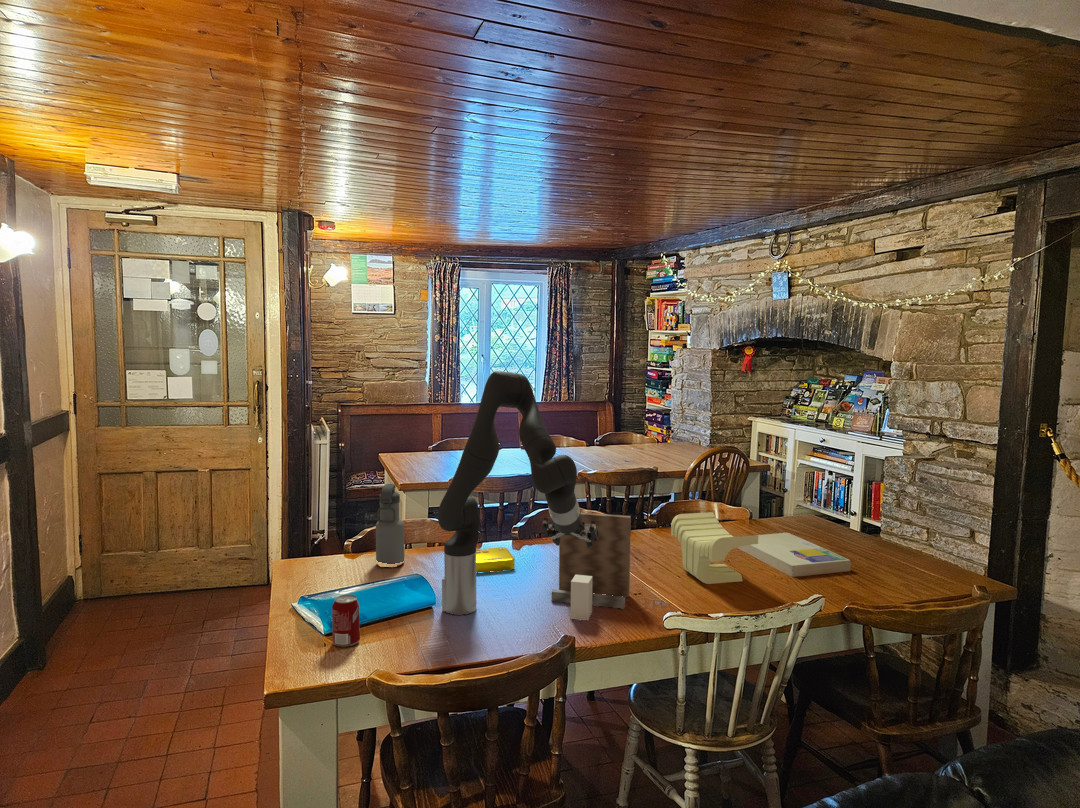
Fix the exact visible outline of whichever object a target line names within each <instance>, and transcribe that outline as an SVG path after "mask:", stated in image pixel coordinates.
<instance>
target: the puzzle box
mask: <svg viewBox="0 0 1080 808" xmlns="http://www.w3.org/2000/svg"><path fill="white" fill-rule="evenodd" d="M754 535H755V534H754ZM754 535H753V534H752V536H754ZM757 535H758V544H752V545H745V546H740V547H737V548H736V549H739V550H740V551H742V552H743V553H745V554H748V555H750V556H752V557H754V558H755V559H758V560H759V561H761V562H763V563H765V564H767V565H769V566H770V567H772V568H774V569H776V570H778V571H780V572H782V573H784V574H786V575H788V576H790V577H791V578H794V577H795V578H796V577H803V576H804V577H805V576H806V577H807V576H813V575H815V576H816V575H823V574H825V575H826V574H835V573H843V572H851V568H852V567H851V566H852V565H851V564H852V563H851V560H850V559H849V558H846V557H844V556H842V555H840V554H837V553H836V552H834V551H831V550H829V549H826V548H825V547H822V546H820V545H818V544H815V543H813V542H811V541H808V540H806V539H804V538H802V537H800V536H796V535H794V534H792V533H789V532H778V533H765V534H757Z"/></svg>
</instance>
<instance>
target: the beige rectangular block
mask: <svg viewBox="0 0 1080 808" xmlns="http://www.w3.org/2000/svg"><path fill="white" fill-rule="evenodd" d="M591 613H592V614H593V606H592V576H586V575H575V576H574V578H573V579H572V581H571V603H570V620H572V619H581V620H588V619H589V620H590V618H591V616H590V615H592V614H591ZM589 617H590V618H589ZM581 620H580V621H581ZM589 620H588V621H589Z"/></svg>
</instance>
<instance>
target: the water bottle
mask: <svg viewBox="0 0 1080 808" xmlns="http://www.w3.org/2000/svg"><path fill="white" fill-rule="evenodd" d="M395 490H396V484H395V483H386V484H385V485H384V486H383V487H382V489H381V493H380V494H379V495H378V498H379V502H378V503H379V508H378V509H377V513H376V514H377V515H376V516H377V522H376V523H375V561H376V560H377V561H378V562H382V563H387V564H395V563H400V562H403V561H404V559H405V524H404V523H405V522H404V521H403V520H402V519H400V503H401V502H400V500H401V499H400V498H401V497H400V496H401V495H400V493H399V492H397V491H395ZM404 562H405V561H404Z"/></svg>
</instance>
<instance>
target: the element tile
mask: <svg viewBox="0 0 1080 808" xmlns="http://www.w3.org/2000/svg"><path fill="white" fill-rule="evenodd" d="M515 564H516V563H515V556H513V554H512V553H511V552H510V550H509V549H508V548H507V547H505V546H503V547H502V546H501V547H489V548H487V547H486V548H476V572H490V571H503V570H512V569H514V568H515V567H516V565H515ZM514 570H515V569H514ZM512 571H513V570H512ZM503 572H504V571H503Z"/></svg>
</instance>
